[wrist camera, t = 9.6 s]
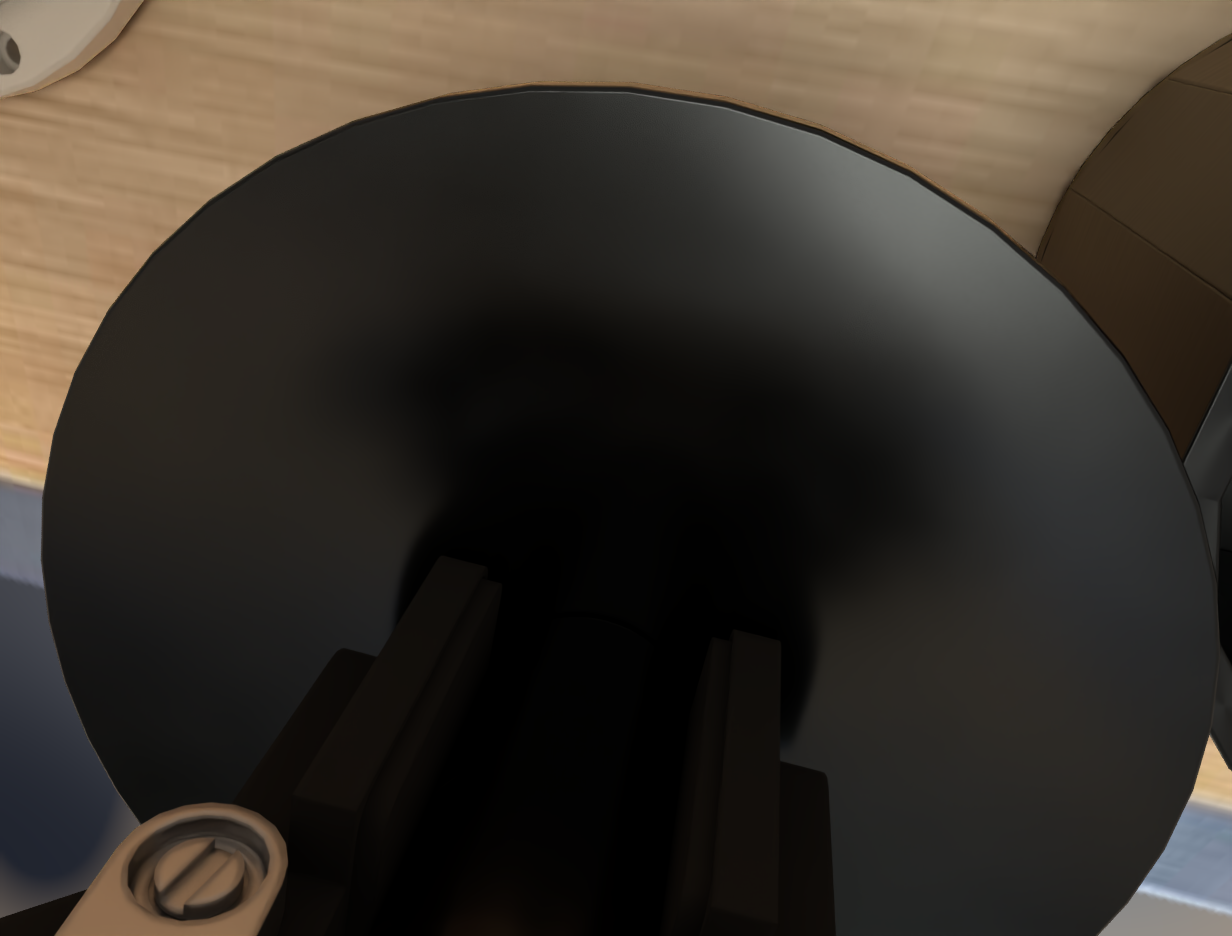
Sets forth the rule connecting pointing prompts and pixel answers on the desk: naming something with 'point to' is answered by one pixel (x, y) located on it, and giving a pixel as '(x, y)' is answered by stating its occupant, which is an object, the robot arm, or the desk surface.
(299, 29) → the desk surface
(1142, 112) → the trash can
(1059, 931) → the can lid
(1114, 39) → the desk surface
